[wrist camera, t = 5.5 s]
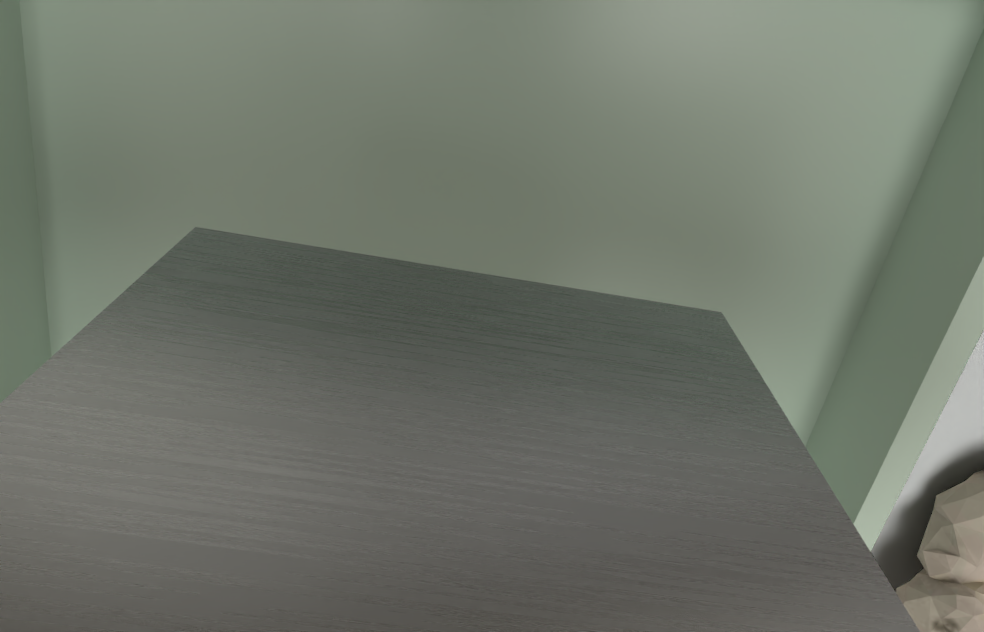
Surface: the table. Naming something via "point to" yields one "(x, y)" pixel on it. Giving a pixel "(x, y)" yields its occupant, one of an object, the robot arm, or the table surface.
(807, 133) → the tote
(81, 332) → the tea tin
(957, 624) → the skeleton model
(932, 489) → the table surface
